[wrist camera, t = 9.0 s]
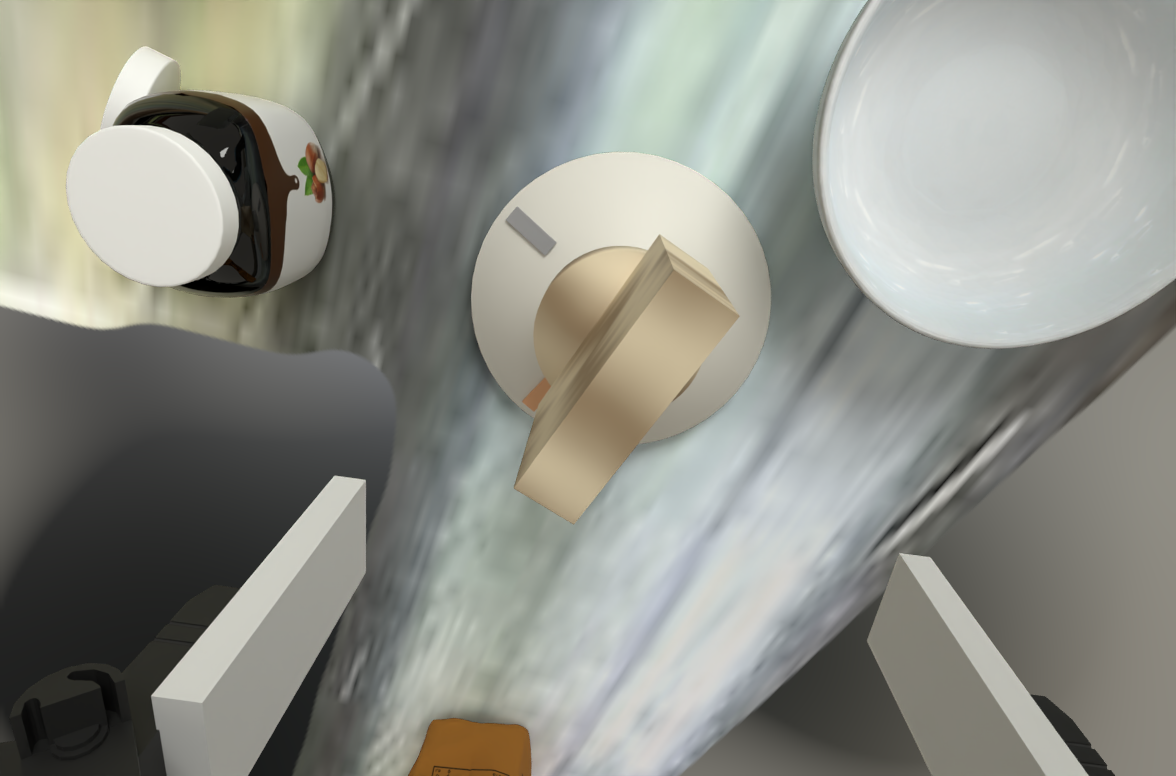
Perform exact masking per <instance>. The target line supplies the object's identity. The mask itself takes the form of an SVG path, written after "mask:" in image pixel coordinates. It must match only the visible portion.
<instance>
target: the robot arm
mask: <svg viewBox="0 0 1176 776" xmlns="http://www.w3.org/2000/svg"><path fill="white" fill-rule="evenodd" d="M365 573H366V480H362V479H354V478H347V477H340V476H334V477H333V478H332V480H331V481H330V482H329V483H328V484H327V486H326V487H325V488H324V489H323V490H322V492H321V493H320V494H319V495H318V496H317V498H316V499H315V500H314V501H313V502H312V504H311V505H310V506H309V507H308V508H307V510H306V511H305V512H304V513H303V515H302V516H301V517H300V518H299V519H298V520H297V522H296V523H295V524H294V525H293V526H292V528H291V529H290V530H289V531H288V532H287V534H286V535H285V536H284V537H283V538H282V540H281V541H280V542H279V543H278V544H277V546H276V547H275V548H274V549H273V550H272V552H271V553H270V554H269V555H268V556H267V558H266V559H265V560H264V561H263V562H262V564H261V565H260V566H259V567H258V568H257V570H256V571H255V572H254V573H253V574H252V575H251V577H250V578H249V579H248V580H247V581H246V583H245V584H244V585H243V586H242V587H241V588H233V587H227V586H220V585H214V586H212V587H210V588H209V589H207V590H206V591H204V592H202V593H201V594H199V595H197V596H196V597H194V598H192V599H191V600H189V601H188V602H187V603H186V604H185V605H184V606H183V607H182V608H181V610H180V611H179V612H178V613H177V614H176V615H175V616H174V617H173V618H172V620H170V624H169V625H166V626H165V627H164V628H163V629H162V630H161V631H160V632H159V634H157V636H156V637H155V640H154V641H153V642H150V643H149V644H148V645H147V647H146V648H145V649H144V650H143V651H142V652H141V653H140V654H139V655H138V656H137V657H136V658H135V659H134V661H133V662H132V663H131V664H130V665H129V666H128V667H127V668H126V669H125V670H124V671H123V672H122V673H121V672H120V671H119V670H118V669H116V668H114V667H112V666H110V665H107V664H93V663H88V664H83V665H78V666H73V667H68V668H65V669H63V670H61V671H58V672H56V673H54V674H51V675H49V676H46V677H45V678H43V679H42V680H40V681H39V682H37V683H36V684H34V685H33V686H31V687H30V688H29V689H27V690H26V692H25V693H24V694H23V695H22V696H21V697H20V698H19V699H18V700H17V702H15V704H14V706H13V709H12V712H11V715H10V722H11V725H12V729H13V733H14V736H15V740H16V741H10V742H3V743H0V776H248V774H249V773H250V771H251V769H252V767H253V766H254V764H255V762H256V760H257V759H258V757H259V755H260V754H261V752H262V750H263V749H264V747H265V745H266V743H267V742H268V740H269V738H270V736H271V735H272V733H273V731H274V729H275V727H276V726H277V724H278V723H279V721H280V719H281V717H282V716H283V714H284V712H285V710H286V709H287V707H288V705H289V704H290V702H291V700H292V699H293V697H294V695H295V693H296V692H297V690H298V688H299V687H300V685H301V683H302V681H303V680H304V678H305V676H306V674H307V672H308V671H309V669H310V668H311V666H312V664H313V662H314V661H315V659H316V657H317V655H318V654H319V652H320V650H321V649H322V647H323V645H324V643H325V642H326V640H327V638H328V637H329V635H330V633H331V631H332V630H333V628H334V626H335V624H336V623H337V621H338V619H339V618H340V616H341V614H342V612H343V611H344V609H345V607H346V606H347V604H348V602H349V600H350V599H351V597H352V595H353V593H354V592H355V590H356V588H357V587H358V585H359V583H360V581H361V580H362V578H363V576H364V575H365ZM867 642H868V644H869V646H870V648H871V650H872V652H873V654H874V657H875V659H876V660H877V663H878V665H879V667H880V669H881V671H882V673H883V675H884V677H885V679H886V681H887V683H888V685H889V687H890V690H891V692H892V694H893V696H894V698H895V700H896V702H897V704H898V706H899V708H900V711H901V713H902V715H903V716H904V719H905V721H906V723H907V725H908V727H909V729H910V731H911V733H912V735H913V737H914V739H915V742H916V744H917V746H918V748H919V750H920V752H921V754H922V756H923V758H924V760H925V762H926V764H927V767H928V768H929V771H930V773H931V775H932V776H1115V775H1114V774H1113V772H1112V771H1111V770H1107V765H1106V763H1105V762H1104V761H1103V759H1102V758H1101V757H1100V755H1099V754H1098V753H1097V752H1096V750H1095V749H1092V748H1091V744H1090V742H1089V741H1088V740H1087V738H1086V737H1085V736H1084V735H1083V733H1082V732H1081V731H1080V729H1079V728H1078V727H1077V725H1076V724H1075V723H1074V721H1073V720H1072V719H1071V718H1069V716H1067V715H1066V714H1065V713H1063V711H1062V710H1060V709H1059V708H1058V707H1057V706H1055V704H1053V703H1052V702H1051V701H1050V700H1049V699H1048V698H1046V697H1045V696H1038V695H1030V694H1029V693H1028V691H1027V690H1026V689H1025V687H1024V686H1023V685H1022V683H1021V682H1020V680H1019V679H1018V678H1017V676H1016V675H1015V673H1014V672H1013V671H1012V669H1011V668H1010V667H1009V665H1008V664H1007V662H1006V661H1005V660H1004V658H1003V657H1002V656H1001V654H1000V653H999V651H998V650H997V649H996V647H995V646H994V645H993V643H992V642H991V640H990V639H989V638H988V636H987V635H986V634H985V632H984V631H983V629H982V628H981V627H980V625H979V624H978V623H977V621H976V620H975V618H974V617H973V616H972V614H971V613H970V611H969V610H968V609H967V607H966V606H965V604H964V603H963V602H962V600H961V599H960V598H959V596H958V595H957V593H956V592H955V591H954V590H953V588H952V587H951V585H950V584H949V582H948V581H947V580H946V578H945V577H944V575H943V574H942V573H941V571H940V570H939V569H938V567H937V566H936V565H935V563H934V562H933V560H932V559H931V558H930V557H924V556H917V555H909V554H902V553H899V555H898V558H897V561H896V563H895V566H894V569H893V572H892V574H891V577H890V580H889V582H888V585H887V588H886V590H885V593H884V596H883V599H882V601H881V604H880V607H879V610H878V612H877V615H876V618H875V621H874V623H873V626H872V628H871V631H870V634H869V637H868V639H867Z"/></svg>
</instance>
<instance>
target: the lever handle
mask: <svg viewBox="0 0 1176 776" xmlns="http://www.w3.org/2000/svg"><path fill="white" fill-rule="evenodd" d="M739 317H740V316H739V314H738V313H737V311H736V310H735V308H734V307H733V305H732V304H731V302H730V301H729V299H728V298H727V296H726V295H725V293H724V292H723V290H722V289H721V287H720V286H719V284H718V283H717V281H716V280H715V278H714V277H713V275H712V274H711V272H710V271H709V269H708V268H707V267H705V266H704V265H702V264H701V263H700V262H698V261H697V260H695V259H694V258H692V257H691V256H690V255H688V254H687V253H685V252H684V251H683V250H681V249H680V248H678V247H677V246H676V245H674V244H673V243H671V242H670V241H669V240H667V239H666V238H664V237H663V236H662V235H660V234H659V235H658V237H657V238H656V239H655V241H654V242H653V244H652V245H651V247H650V248H649V249H648V250H645V249H642V248H638V247H631V246H610V247H603V248H599V249H596V250H592V251H590V252H588V253H585V254H583V255H581V256H579V257H578V258H576V259H574V260H573V261H571V262H570V263H569V264H567V265H566V266H565V267H564V268H563V269H562V270H561V271H560V272H559V273H558V274H557V275H556V276H555V278H554V279H553V280H552V282H551V283H550V285H549V287H548V288H547V290H546V292H545V294H544V296H543V298H542V300H541V303H540V305H539V308H538V310H537V314H536V318H535V322H534V331H533V338H534V349H535V354H536V358H537V361H538V364H539V366H540V369H541V371H542V373H543V375H544V376H545V378H546V380H547V381H548V383H549V384H550V385H551V387H550V389H549V390H548V392H547V393H546V394H545V396H544V397H543V399H542V400H541V401H540V403H539V404H538V408H537V411H536V415H535V418H534V421H533V425H532V428H531V431H530V435H529V438H528V441H527V445H526V448H525V451H524V455H523V458H522V462H521V465H520V468H519V472H518V475H517V478H516V482H515V485H514V489H516V490H517V491H519V492H521V493H522V494H524V495H526V496H527V497H529V498H531V499H532V500H534V501H536V502H537V503H539V504H541V505H542V506H544V507H546V508H547V509H549V510H551V511H552V512H554V513H556V514H557V515H559V516H560V517H562V518H564V519H565V520H567V521H569V522H570V523H572V524H575V522H576V521H577V520H578V519H579V517H580V516H581V515H582V514H583V512H584V511H585V510H586V509H587V507H588V506H589V505H590V504H591V502H592V501H593V500H594V499H595V497H596V496H597V495H598V494H599V492H600V491H601V490H602V489H603V487H604V486H605V485H606V484H607V482H608V481H609V480H610V479H611V477H612V476H613V475H614V474H615V472H616V471H617V470H618V468H619V467H620V466H621V465H622V463H623V462H624V461H625V460H626V458H627V457H628V456H629V455H630V453H631V452H632V451H633V450H634V448H635V447H636V446H637V445H638V443H639V442H640V441H641V440H642V438H643V437H644V436H645V435H646V433H647V432H648V431H649V430H650V428H651V427H652V426H653V425H654V423H655V422H656V421H657V420H658V418H659V417H660V416H661V415H662V413H663V412H664V411H665V410H666V408H667V407H668V406H669V405H670V403H671V402H673V401H674V400H675V399H676V398H678V397H679V396H680V395H681V394H682V393H683V392H684V391H685V390H686V389H687V388H688V387H689V385H690V384H691V383H692V381H693V380H694V378H695V377H696V375H697V373H698V371H699V369H700V367H701V364H702V363H703V362H704V361H705V359H706V358H707V357H708V356H709V354H710V353H711V352H712V351H713V349H714V348H715V347H716V346H717V344H718V343H719V342H720V341H721V339H722V338H723V337H724V336H725V334H726V333H727V332H728V331H729V329H730V328H731V327H732V325H733V324H734V323H735V322H736V320H737V319H738V318H739Z"/></svg>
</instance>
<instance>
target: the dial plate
mask: <svg viewBox="0 0 1176 776" xmlns="http://www.w3.org/2000/svg"><path fill="white" fill-rule="evenodd" d="M659 234H660V235H662V236H663V237H664V238H666V239H667V240H669V241H670V242H671V243H673V244H674V245H676V246H677V247H678V248H680V249H681V250H683V251H684V252H685V253H687V254H688V255H690V256H691V257H692V258H694V259H695V260H697V261H698V262H700V263H701V264H702V265H704V266H705V267H707V268H708V269H709V271H710V272H711V274H712V275H713V277H714V278H715V280H716V281H717V283H718V284H719V286H720V287H721V289H722V290H723V292H724V293H725V295H726V296H727V298H728V299H729V301H730V302H731V304H732V305H733V307H734V308H735V310H736V311H737V313H738V314H739V316H740V317H739V318H738V319H737V320H736V322H735V323H734V324H733V325H732V327H731V328H730V329H729V331H728V332H727V333H726V334H725V336H724V337H723V338H722V339H721V341H720V342H719V343H718V344H717V346H716V347H715V348H714V349H713V351H712V352H711V353H710V354H709V356H708V357H707V358H706V359H705V361H704V362H703V363H702V364H701V367H700V369H699V371H698V373H697V375H696V377H695V378H694V380H693V381H692V383H691V384H690V385H689V387H688V388H687V389H686V390H685V391H684V392H683V393H682V394H681V395H680V396H679V397H678V398H676V399H675V400H674V401H673V402H671V403H670V405H669V406H668V407H667V408H666V410H665V411H664V412H663V413H662V415H661V416H660V417H659V418H658V420H657V421H656V422H655V423H654V425H653V426H652V427H651V428H650V430H649V431H648V432H647V433H646V435H645V436H644V437H643V438H642V440H641V441H640V442H639V443H638V444H644V443H649V442H654V441H659V440H662V439H665V438H668V437H671V436H675V435H677V434H679V433H682V432H684V431H686V430H688V429H690V428H692V427H694V426H696V425H697V424H699V423H701V422H702V421H704V420H705V419H707V418H709V417H710V416H711V415H712V414H714V413H715V412H716V411H717V410H719V409H720V408H721V407H722V406H724V404H725V403H726V402H727V401H728V400H729V399H730V398H731V397H732V396H733V395H734V394H735V393H736V392H737V391H738V389H739V388H740V387H741V385H742V384H743V383H744V381H745V380H746V379H747V377H748V376H749V374H750V372H751V370H752V369H753V367H754V365H755V363H756V362H757V359H758V357H759V354H760V352H761V349H762V347H763V345H764V341H765V338H766V334H767V330H768V326H769V319H770V311H771V284H770V277H769V270H768V265H767V262H766V258H765V255H764V252H763V248H762V246H761V244H760V242H759V239H758V237H757V235H756V233H755V230H754V229H753V227H752V226H751V224H750V222H749V221H748V219H747V218H746V216H745V215H744V213H743V212H742V210H741V209H740V208H739V207H738V206H737V205H736V203H735V202H734V201H733V200H732V199H731V198H730V197H729V196H728V195H727V194H726V193H725V192H724V191H723V190H722V189H720V188H719V187H718V186H717V185H716V184H715V183H713V182H712V181H710V180H709V179H707V178H706V177H704V176H703V175H701V174H700V173H698V172H697V171H695V170H692V169H690V168H688V167H686V166H684V165H682V164H680V163H678V162H675V161H672V160H669V159H666V158H663V157H659V156H656V155H650V154H644V153H638V152H608V153H599V154H593V155H589V156H585V157H582V158H578V159H574V160H572V161H569V162H567V163H565V164H562V165H560V166H557V167H555V168H553V169H552V170H550V171H548V172H547V173H545V174H543V175H541V176H540V177H538V178H536V179H535V180H534V181H532V182H531V183H530V184H529V185H527V186H526V187H525V188H523V189H522V190H521V191H520V192H519V193H518V194H517V195H516V196H515V197H514V198H513V199H512V200H511V201H510V202H509V203H508V204H507V205H506V206H505V207H504V209H503V210H502V212H501V213H500V214H499V216H498V217H497V218H496V220H495V221H494V223H493V224H492V226H491V228H490V230H489V232H488V234H487V236H486V237H485V239H484V241H483V244H482V247H481V249H480V252H479V255H478V258H477V261H476V265H475V270H474V274H473V280H472V292H471V307H472V319H473V325H474V330H475V335H476V338H477V342H478V345H479V348H480V351H481V353H482V356H483V358H484V360H485V362H486V364H487V366H488V368H489V370H490V372H491V373H492V375H493V376H494V378H495V380H496V381H497V383H498V384H499V386H500V387H501V388H502V389H503V390H504V392H505V393H506V394H507V395H508V396H509V398H510V399H511V400H512V401H513V402H515V403H516V404H517V405H518V406H519V407H520V408H521V409H522V410H523V411H524V412H526V413H527V414H528V415H530V416H531V417H532V418H535V415H536V411H537V408H538V404H539V403H540V401H541V400H542V399H543V397H544V396H545V394H546V393H547V392H548V390H549V389H550V387H551V385H550V384H549V383H548V381H547V380H546V378H545V376H544V375H543V373H542V371H541V369H540V366H539V364H538V361H537V358H536V354H535V349H534V338H533V331H534V322H535V318H536V314H537V310H538V308H539V305H540V303H541V300H542V298H543V296H544V294H545V292H546V290H547V288H548V287H549V285H550V283H551V282H552V280H553V279H554V278H555V276H556V275H557V274H558V273H559V272H560V271H561V270H562V269H563V268H564V267H565V266H566V265H567V264H569V263H570V262H571V261H573V260H574V259H576V258H578V257H579V256H581V255H583V254H585V253H588V252H590V251H592V250H596V249H599V248H603V247H610V246H631V247H638V248H642V249H645V250H648V249H649V248H650V247H651V245H652V244H653V242H654V241H655V239H656V238H657V237H658V235H659Z"/></svg>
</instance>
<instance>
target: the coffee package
mask: <svg viewBox="0 0 1176 776" xmlns="http://www.w3.org/2000/svg"><path fill="white" fill-rule="evenodd" d="M408 776H531V748H530V739H529V733H528V730H527V729H526V728H524V727H522V726H520V725H516V724H512V725H506V724H495V723H477V722H471V721H467V720H463V719H458V718H451V719H442V720H433V721H432V722H431V724H430V725H429V728H428V731H427V734H426V738H425V740H424V743H423V745H422V748H421V751H420V753H419V756H418V758H417V760H416V762H415V764H414V765H413V767H412V769H411V771H410V773H409V774H408Z"/></svg>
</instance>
